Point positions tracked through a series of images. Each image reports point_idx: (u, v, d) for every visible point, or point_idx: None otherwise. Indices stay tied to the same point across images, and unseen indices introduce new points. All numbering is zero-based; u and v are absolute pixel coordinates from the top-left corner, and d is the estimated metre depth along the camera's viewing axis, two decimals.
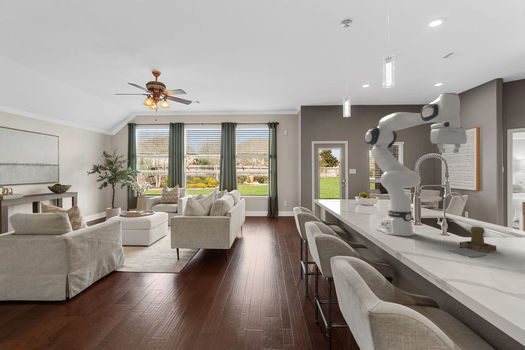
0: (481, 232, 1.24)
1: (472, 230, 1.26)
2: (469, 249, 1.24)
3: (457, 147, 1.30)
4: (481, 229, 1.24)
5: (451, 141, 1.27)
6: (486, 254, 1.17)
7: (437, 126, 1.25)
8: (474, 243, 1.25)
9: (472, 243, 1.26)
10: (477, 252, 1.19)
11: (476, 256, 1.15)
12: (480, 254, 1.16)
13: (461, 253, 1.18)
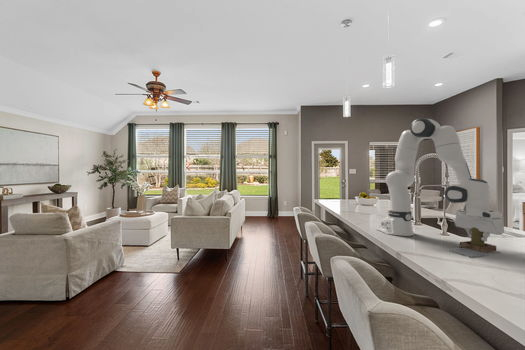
0: (481, 232, 1.24)
1: (472, 230, 1.26)
2: (469, 249, 1.24)
3: (470, 232, 1.30)
4: None
5: None
6: (486, 254, 1.17)
7: (499, 216, 1.18)
8: (474, 243, 1.25)
9: (472, 243, 1.26)
10: (477, 252, 1.19)
11: (476, 256, 1.15)
12: (480, 254, 1.16)
13: (461, 253, 1.18)
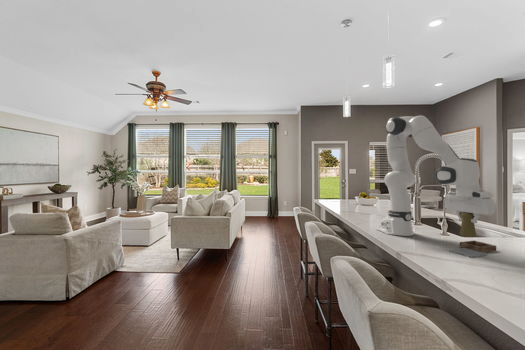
0: (471, 217, 1.17)
1: (462, 215, 1.20)
2: (469, 249, 1.24)
3: (460, 215, 1.23)
4: (471, 214, 1.18)
5: None
6: (486, 254, 1.17)
7: (489, 196, 1.12)
8: (464, 229, 1.19)
9: (462, 229, 1.20)
10: (477, 252, 1.19)
11: (476, 256, 1.15)
12: (480, 254, 1.16)
13: (461, 253, 1.18)
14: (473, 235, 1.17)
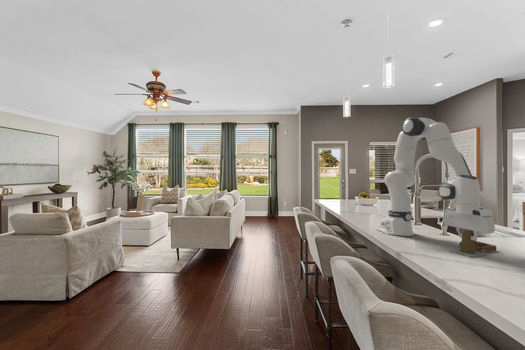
0: (471, 234, 1.18)
1: (462, 232, 1.20)
2: None
3: (460, 231, 1.23)
4: (471, 231, 1.18)
5: None
6: (486, 254, 1.17)
7: (489, 214, 1.12)
8: (464, 245, 1.19)
9: (462, 245, 1.20)
10: (477, 252, 1.19)
11: (476, 256, 1.15)
12: (480, 254, 1.16)
13: (461, 253, 1.18)
14: (473, 252, 1.17)
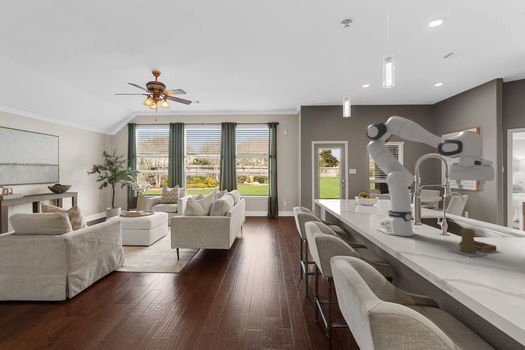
0: (471, 234, 1.18)
1: (462, 232, 1.20)
2: None
3: (459, 183, 1.38)
4: (471, 231, 1.18)
5: None
6: (486, 254, 1.17)
7: (490, 164, 1.24)
8: (464, 246, 1.19)
9: (462, 245, 1.20)
10: (477, 252, 1.19)
11: (476, 256, 1.15)
12: (480, 254, 1.16)
13: (461, 253, 1.18)
14: (473, 252, 1.17)
